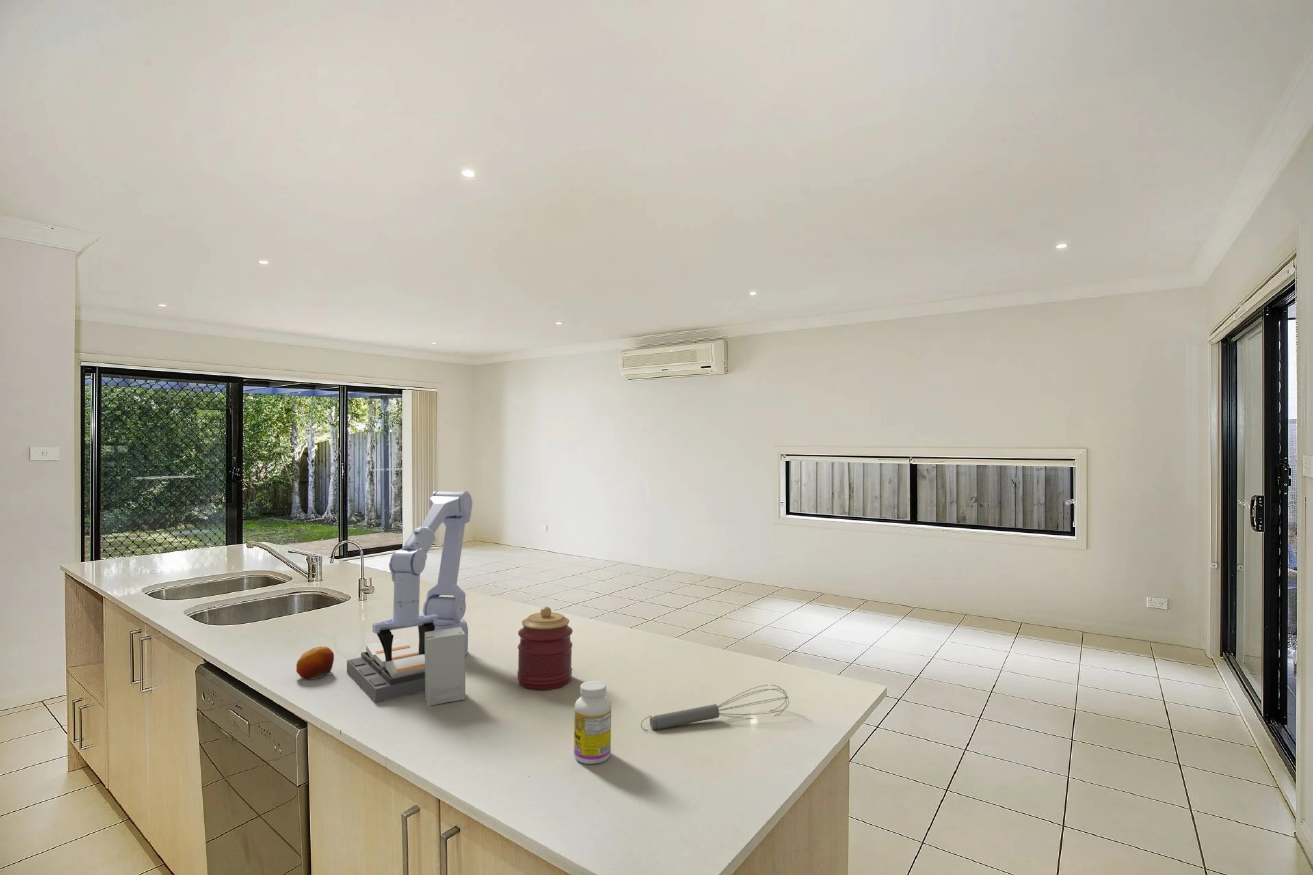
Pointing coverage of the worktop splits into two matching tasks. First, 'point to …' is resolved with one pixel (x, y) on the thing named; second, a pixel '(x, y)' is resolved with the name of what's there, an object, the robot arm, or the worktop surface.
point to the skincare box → (444, 666)
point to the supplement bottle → (592, 724)
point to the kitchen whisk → (702, 713)
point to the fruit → (315, 663)
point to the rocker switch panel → (382, 680)
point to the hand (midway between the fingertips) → (405, 658)
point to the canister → (544, 651)
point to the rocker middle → (397, 655)
